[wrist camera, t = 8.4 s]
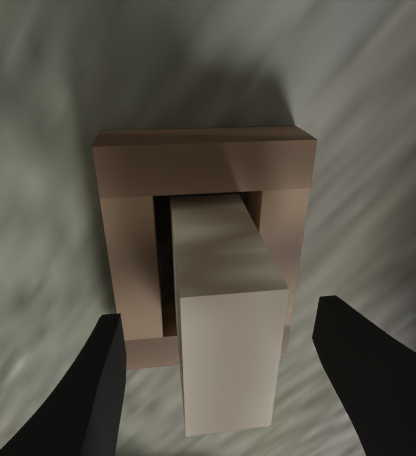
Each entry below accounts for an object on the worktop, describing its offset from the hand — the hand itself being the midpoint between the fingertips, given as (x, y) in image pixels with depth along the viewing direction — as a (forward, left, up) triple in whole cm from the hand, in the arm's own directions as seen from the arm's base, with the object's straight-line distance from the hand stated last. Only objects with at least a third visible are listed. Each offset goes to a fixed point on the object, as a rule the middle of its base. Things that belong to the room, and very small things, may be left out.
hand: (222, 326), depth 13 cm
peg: (0, 0, -6) cm, 6 cm away
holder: (0, 0, -6) cm, 6 cm away
